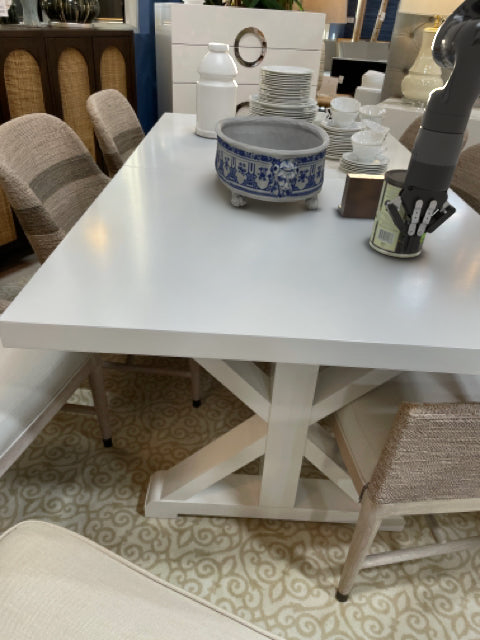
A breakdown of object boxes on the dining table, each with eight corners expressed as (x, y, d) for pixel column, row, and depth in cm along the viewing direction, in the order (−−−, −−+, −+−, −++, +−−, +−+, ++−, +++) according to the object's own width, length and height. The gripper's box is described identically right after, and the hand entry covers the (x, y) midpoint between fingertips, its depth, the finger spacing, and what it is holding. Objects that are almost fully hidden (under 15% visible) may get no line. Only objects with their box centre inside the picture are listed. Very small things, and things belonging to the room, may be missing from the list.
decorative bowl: (342, 223, 103) (356, 153, 95) (222, 222, 99) (226, 149, 91) (296, 168, 138) (303, 113, 130) (205, 165, 134) (207, 108, 126)
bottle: (238, 133, 172) (244, 44, 157) (229, 141, 161) (234, 46, 146) (202, 128, 174) (203, 41, 159) (190, 136, 163) (191, 42, 148)
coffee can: (422, 243, 97) (443, 174, 90) (418, 262, 89) (441, 189, 81) (372, 232, 100) (388, 165, 92) (364, 250, 92) (381, 178, 84)
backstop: (403, 212, 112) (413, 174, 107) (410, 220, 108) (421, 181, 103) (337, 209, 111) (344, 170, 106) (342, 217, 107) (350, 177, 102)
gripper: (404, 161, 76) (379, 259, 85) (482, 165, 77) (449, 262, 86) (388, 150, 82) (367, 242, 91) (461, 154, 83) (432, 245, 92)
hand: (407, 252), depth 89 cm, fingers closed
